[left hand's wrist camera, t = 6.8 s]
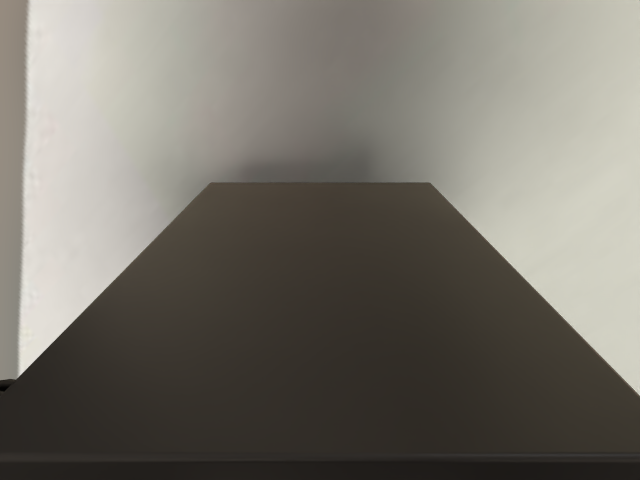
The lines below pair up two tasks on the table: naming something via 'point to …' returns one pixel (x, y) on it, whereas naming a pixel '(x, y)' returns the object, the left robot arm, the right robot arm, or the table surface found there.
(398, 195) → the box
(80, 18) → the table surface
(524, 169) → the table surface
